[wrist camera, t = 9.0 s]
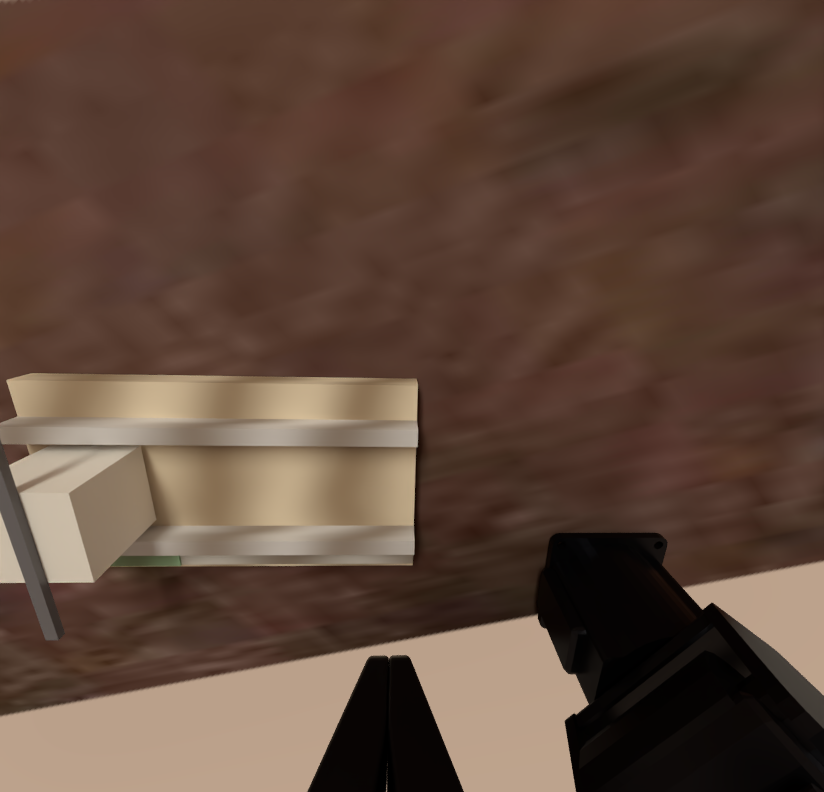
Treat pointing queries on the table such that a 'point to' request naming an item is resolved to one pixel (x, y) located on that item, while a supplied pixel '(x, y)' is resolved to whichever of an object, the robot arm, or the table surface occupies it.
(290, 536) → the board
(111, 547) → the tuning slider
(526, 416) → the table surface
